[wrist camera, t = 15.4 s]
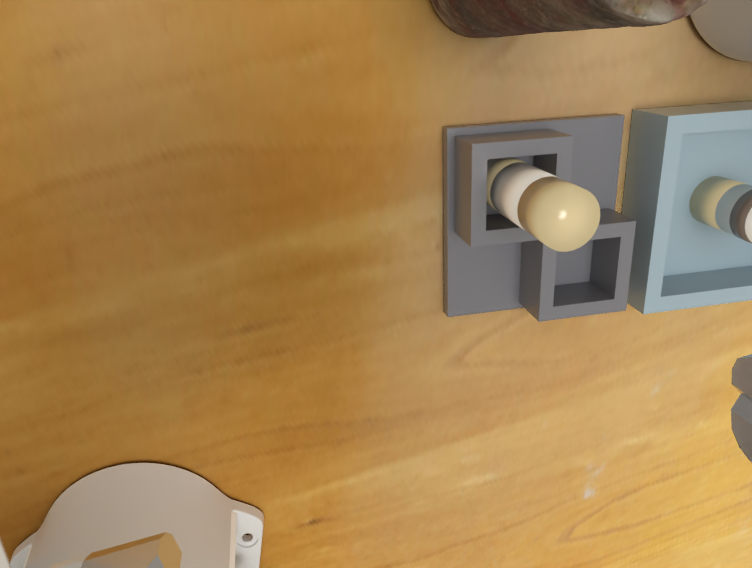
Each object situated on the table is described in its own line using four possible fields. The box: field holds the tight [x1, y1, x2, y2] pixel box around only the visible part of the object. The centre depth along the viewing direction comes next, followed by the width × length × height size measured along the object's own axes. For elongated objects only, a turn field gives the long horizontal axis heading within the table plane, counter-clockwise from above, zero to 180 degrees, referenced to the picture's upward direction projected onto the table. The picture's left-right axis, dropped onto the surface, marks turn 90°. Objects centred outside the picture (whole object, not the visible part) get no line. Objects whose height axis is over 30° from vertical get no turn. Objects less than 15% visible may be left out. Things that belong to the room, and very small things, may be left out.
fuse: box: [486, 157, 600, 252], centre depth 38 cm, size 4×4×10 cm
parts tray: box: [622, 101, 752, 314], centre depth 45 cm, size 14×14×4 cm
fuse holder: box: [443, 114, 636, 322], centre depth 43 cm, size 14×13×4 cm
